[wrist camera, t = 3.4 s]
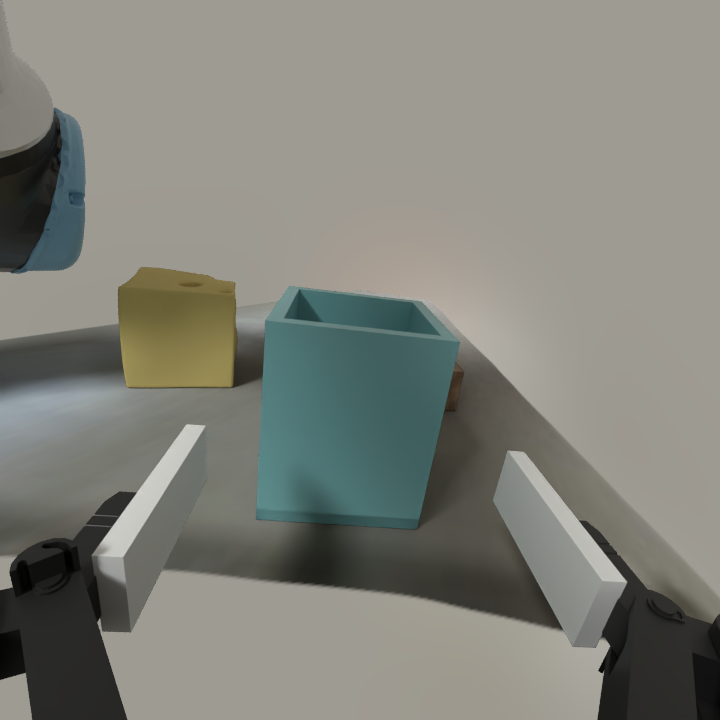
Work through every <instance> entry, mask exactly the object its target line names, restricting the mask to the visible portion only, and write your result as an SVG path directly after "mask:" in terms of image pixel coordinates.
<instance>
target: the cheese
mask: <svg viewBox="0 0 720 720" xmlns="http://www.w3.org/2000/svg"><path fill="white" fill-rule="evenodd" d="M118 315H119V330H120V341H121V352H122V362H123V369H124V375H125V380H126V386H127V387H129V388H167V387H232V386H233V380H234V360H235V356H236V352H237V343H238V338H237V328H236V323H235V317H236V299H235V282H230V281H222V280H216V279H214V278H213V277H210V276H208V275H202V274H195V273H188V272H182V271H176V270H170V269H162V268H149V267H141V268H140V269H139V270H138V272H137V274H136V275H135V276H134V277H132V278H131V279H130V280H129V281H128V282H126V283H125V284H123V285H122V286H120V287H119V288H118Z"/></svg>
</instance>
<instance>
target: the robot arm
mask: <svg viewBox="0 0 720 720" xmlns="http://www.w3.org/2000/svg"><path fill="white" fill-rule="evenodd" d="M84 197H85V159H84V147H83V139H82V133H81V129H80V126H79V124H78V122H77V121H76V120H75V118H73V117H72V116H70V115H68V114H65V113H63V112H61V111H60V110H58V109H57V108H53V104H52V99H51V97H50V94H49V92H48V90H47V88H46V86H45V84H44V82H43V81H42V80H41V78H40V77H39V76H38V75H37V73H36V72H35V71H34V70H33V69H32V68H31V67H30V66H29V65H28V64H27V63H26V62H25V61H23V60H22V59H21V58H20V57H19V56H17V55H16V54H15V53H13V52H12V47H11V42H10V37H9V32H8V27H7V22H6V17H5V12H4V7H3V2H2V0H0V272H11V273H17V274H20V273H24V272H27V271H51V270H52V271H57V270H64V269H66V268H69V267H70V266H72V265H73V264H74V263H75V262H76V261H77V260H78V258H79V256H80V253H81V249H82V244H83V236H84V225H85V203H84V200H83V199H84ZM205 483H206V426H201V425H188V424H187V425H186V426H185V428H184V429H183V430H182V432H181V433H180V434H179V436H178V437H177V439H176V440H175V441H174V443H173V444H172V445H171V447H170V448H169V450H168V451H167V452H166V454H165V455H164V456H163V458H162V459H161V461H160V462H159V463H158V465H157V466H156V467H155V469H154V470H153V472H152V473H151V474H150V476H149V477H148V478H147V480H146V481H145V483H144V484H143V485H142V487H141V488H140V489H139V491H138V492H137V493H134V492H118V493H117V494H115V495H114V496H112V497H111V498H109V499H108V500H106V501H105V502H104V503H103V504H102V505H101V507H100V508H99V509H98V510H97V511H96V513H95V515H94V516H92V518H91V519H90V520H89V521H88V522H87V524H86V526H84V527H83V529H82V530H81V531H80V532H79V533H78V535H77V536H76V537H75V538H74V540H73V541H72V540H69V539H66V538H53V539H49V540H46V541H42V542H39V543H37V544H35V545H33V546H31V547H29V548H27V549H26V550H25V551H23V552H22V553H21V554H19V555H18V556H17V557H16V559H15V560H14V561H13V562H12V564H11V567H10V576H11V581H12V585H13V588H9V589H4V590H0V680H1V679H5V678H8V677H12V676H16V675H19V674H23V673H26V677H27V684H28V691H29V698H30V706H31V713H32V720H127V717H126V714H125V711H124V707H123V704H122V701H121V698H120V695H119V691H118V688H117V685H116V682H115V678H114V675H113V672H112V669H111V666H110V662H109V659H108V656H107V653H106V650H105V646H104V643H103V640H102V637H101V634H100V630H99V627H98V624H97V622H98V620H99V618H100V619H101V627H102V631H104V632H105V631H106V632H131V631H132V629H133V627H134V625H135V623H136V621H137V619H138V617H139V615H140V613H141V611H142V609H143V607H144V605H145V603H146V601H147V599H148V597H149V595H150V593H151V591H152V589H153V587H154V585H155V583H156V581H157V579H158V577H159V575H160V573H161V571H162V569H163V567H164V565H165V563H166V561H167V559H168V557H169V555H170V553H171V551H172V549H173V547H174V545H175V543H176V541H177V539H178V537H179V535H180V533H181V531H182V529H183V527H184V525H185V523H186V521H187V519H188V517H189V515H190V513H191V511H192V509H193V507H194V505H195V503H196V501H197V499H198V497H199V495H200V493H201V491H202V489H203V487H204V485H205ZM493 502H494V504H495V505H496V507H497V509H498V511H499V513H500V515H501V516H502V518H503V520H504V522H505V524H506V526H507V527H508V529H509V531H510V533H511V535H512V537H513V538H514V540H515V542H516V544H517V546H518V548H519V549H520V551H521V553H522V555H523V557H524V558H525V560H526V562H527V564H528V566H529V568H530V569H531V571H532V573H533V575H534V577H535V579H536V580H537V582H538V584H539V586H540V588H541V590H542V591H543V593H544V595H545V597H546V599H547V601H548V602H549V604H550V606H551V608H552V610H553V612H554V613H555V615H556V617H557V619H558V621H559V623H560V624H561V626H562V628H563V630H564V632H565V634H566V635H567V637H568V639H569V641H570V643H571V645H572V646H573V647H593V648H594V647H595V648H596V646H597V644H598V642H599V640H600V638H601V636H602V634H603V635H604V637H605V638H606V640H607V641H608V643H609V644H610V648H609V650H608V652H607V654H606V656H605V658H604V660H603V663H602V664H601V666H600V668H599V670H598V671H599V672H601V673H603V671H604V676H603V684H602V691H601V698H600V705H599V713H598V720H720V614H719V615H718V616H717V617H716V619H715V620H714V622H713V624H710V623H707V622H704V621H701V620H698V619H695V618H692V617H689V616H686V615H685V613H684V612H683V611H682V609H681V608H680V607H679V606H677V605H676V604H675V603H674V602H673V601H672V600H670V599H668V598H667V597H665V596H664V595H662V594H660V593H657V592H655V591H652V590H648V589H647V588H646V587H645V586H644V585H643V583H642V582H641V581H640V580H639V579H638V577H637V576H636V575H635V574H634V573H633V571H632V570H631V569H630V568H629V567H628V565H627V564H626V563H625V562H624V561H623V559H622V558H621V557H620V556H618V555H617V552H616V551H615V550H614V549H613V547H612V546H610V545H609V543H608V541H607V540H606V539H605V538H604V536H603V535H602V534H601V533H600V532H599V531H598V530H597V529H595V528H594V527H593V526H592V525H590V524H589V523H588V522H586V521H579V520H578V519H577V518H576V517H575V516H574V514H573V513H572V512H571V511H570V509H569V508H568V507H567V505H566V504H565V503H564V502H563V500H562V499H561V498H560V497H559V495H558V494H557V493H556V492H555V490H554V489H553V488H552V487H551V485H550V484H549V483H548V481H547V480H546V479H545V478H544V476H543V475H542V474H541V473H540V471H539V470H538V469H537V468H536V466H535V465H534V464H533V463H532V461H531V460H530V459H529V457H528V456H527V455H526V454H525V452H519V451H507V455H506V458H505V462H504V465H503V468H502V472H501V475H500V478H499V482H498V485H497V488H496V492H495V495H494V499H493Z"/></svg>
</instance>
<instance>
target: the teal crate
mask: <svg viewBox="0 0 720 720" xmlns="http://www.w3.org/2000/svg"><path fill="white" fill-rule="evenodd" d="M459 344H460V342H459V341H458V339H457V338H456V337H455V336H454V335H453V334H452V333H451V332H450V331H449V330H448V329H447V328H446V327H445V326H444V325H443V324H442V323H441V322H440V321H439V320H438V319H437V317H436V316H435V315H434V314H433V313H432V312H431V311H430V310H429V309H428V308H427V307H426V306H425V305H424V304H423V303H422V302H420V301H412V300H403V299H395V298H387V297H378V296H370V295H362V294H353V293H345V292H337V291H328V290H319V289H311V288H302V287H295V286H289V287H288V288H287V290H286V291H285V293H284V294H283V296H282V297H281V299H280V300H279V301H278V303H277V304H276V306H275V307H274V309H273V310H272V312H271V313H270V315H269V316H268V318H267V319H266V321H265V342H264V363H263V384H262V405H261V426H260V447H259V468H258V489H257V510H256V519H258V520H273V521H289V522H305V523H321V524H337V525H353V526H369V527H385V528H401V529H417V527H418V523H419V519H420V514H421V510H422V505H423V501H424V497H425V492H426V488H427V484H428V479H429V475H430V470H431V466H432V462H433V457H434V453H435V449H436V444H437V440H438V435H439V431H440V427H441V422H442V418H443V414H444V409H445V405H446V401H447V396H448V392H449V387H450V383H451V379H452V374H453V370H454V366H455V361H456V357H457V352H458V348H459Z"/></svg>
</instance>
